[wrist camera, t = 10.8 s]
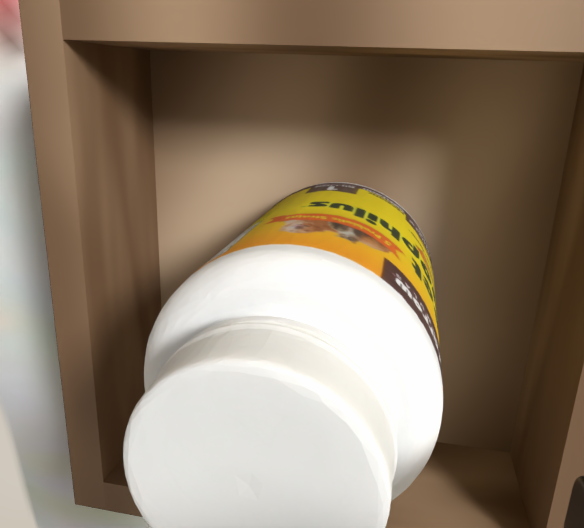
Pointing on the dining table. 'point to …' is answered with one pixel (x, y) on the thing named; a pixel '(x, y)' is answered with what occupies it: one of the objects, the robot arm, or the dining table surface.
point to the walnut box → (315, 170)
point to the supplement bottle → (293, 373)
